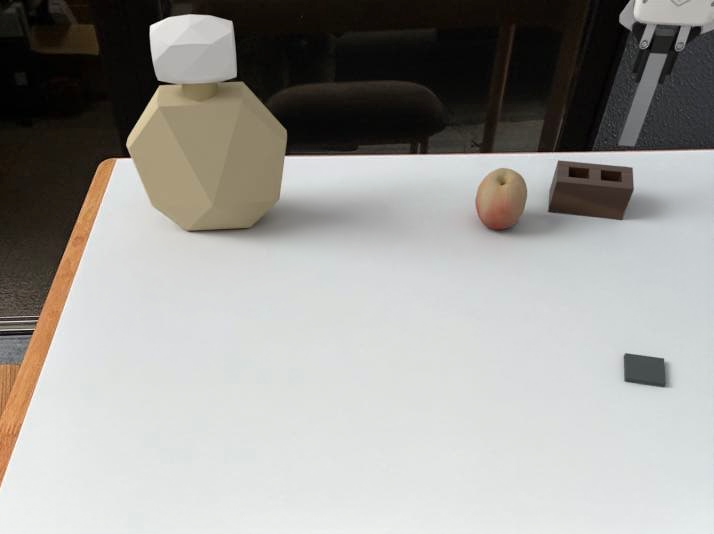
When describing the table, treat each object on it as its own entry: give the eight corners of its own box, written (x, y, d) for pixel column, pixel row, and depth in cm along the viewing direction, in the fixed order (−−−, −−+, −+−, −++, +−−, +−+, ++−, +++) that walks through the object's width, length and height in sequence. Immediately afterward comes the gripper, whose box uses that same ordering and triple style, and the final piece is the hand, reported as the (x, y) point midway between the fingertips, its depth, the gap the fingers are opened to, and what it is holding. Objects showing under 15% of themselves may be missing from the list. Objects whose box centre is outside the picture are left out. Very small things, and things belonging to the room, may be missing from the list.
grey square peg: (634, 139, 100) (673, 29, 89) (634, 146, 99) (674, 36, 87) (617, 137, 101) (654, 28, 89) (617, 145, 99) (655, 35, 88)
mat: (662, 361, 87) (664, 358, 87) (664, 387, 85) (666, 383, 84) (623, 356, 88) (625, 352, 88) (624, 381, 85) (626, 378, 85)
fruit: (464, 231, 105) (473, 181, 99) (479, 206, 109) (488, 156, 102) (513, 242, 103) (525, 192, 97) (526, 216, 107) (539, 166, 100)
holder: (549, 190, 111) (558, 160, 107) (621, 197, 110) (632, 167, 105) (547, 211, 108) (556, 181, 104) (621, 219, 106) (634, 189, 102)
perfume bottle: (291, 236, 105) (282, 28, 82) (143, 243, 105) (91, 36, 82) (289, 196, 112) (280, -7, 89) (150, 203, 112) (103, 0, 89)
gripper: (639, -90, 77) (589, 87, 92) (788, -86, 74) (710, 95, 90) (637, -108, 81) (589, 64, 96) (778, -105, 78) (706, 72, 94)
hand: (648, 78), depth 93 cm, fingers closed on grey square peg, 2 cm apart
